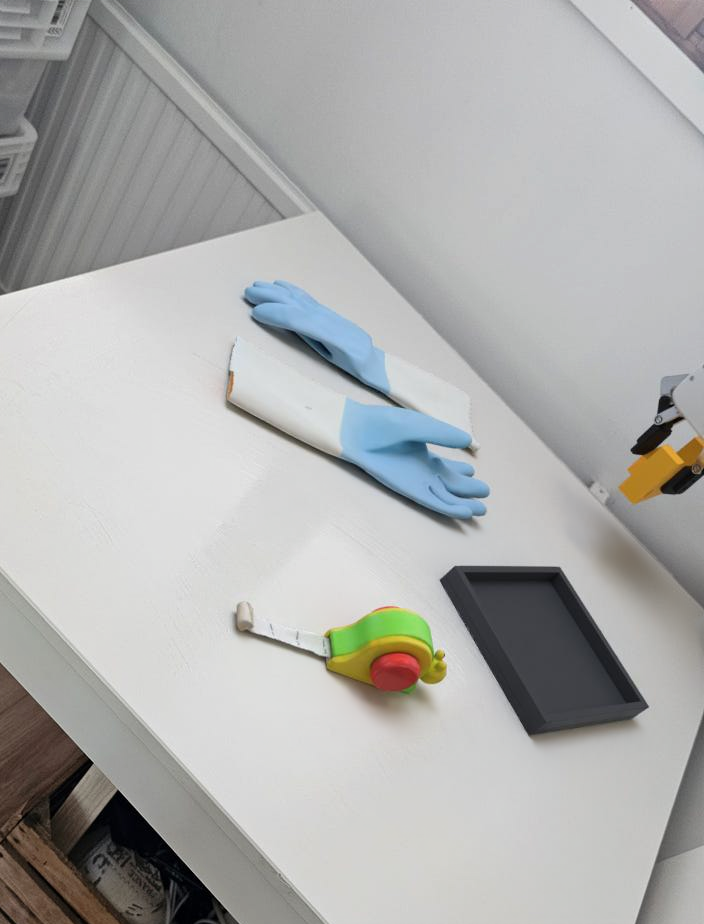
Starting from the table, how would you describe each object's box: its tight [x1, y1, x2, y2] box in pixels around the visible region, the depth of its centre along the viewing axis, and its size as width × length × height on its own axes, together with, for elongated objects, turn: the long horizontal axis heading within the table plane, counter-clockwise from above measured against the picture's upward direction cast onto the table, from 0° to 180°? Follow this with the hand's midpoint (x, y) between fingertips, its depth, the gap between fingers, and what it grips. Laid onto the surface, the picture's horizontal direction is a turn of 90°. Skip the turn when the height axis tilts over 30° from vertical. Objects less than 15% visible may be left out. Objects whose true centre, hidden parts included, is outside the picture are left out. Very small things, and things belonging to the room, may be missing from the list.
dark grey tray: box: [439, 565, 650, 736], centre depth 102 cm, size 18×18×2 cm
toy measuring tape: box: [236, 601, 448, 694], centre depth 84 cm, size 6×20×7 cm, turn 91°
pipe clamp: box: [617, 435, 704, 506], centre depth 118 cm, size 12×4×6 cm, turn 129°
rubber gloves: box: [226, 279, 491, 520], centre depth 112 cm, size 27×33×6 cm
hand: (653, 471), depth 119 cm, fingers closed on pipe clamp, 5 cm apart
